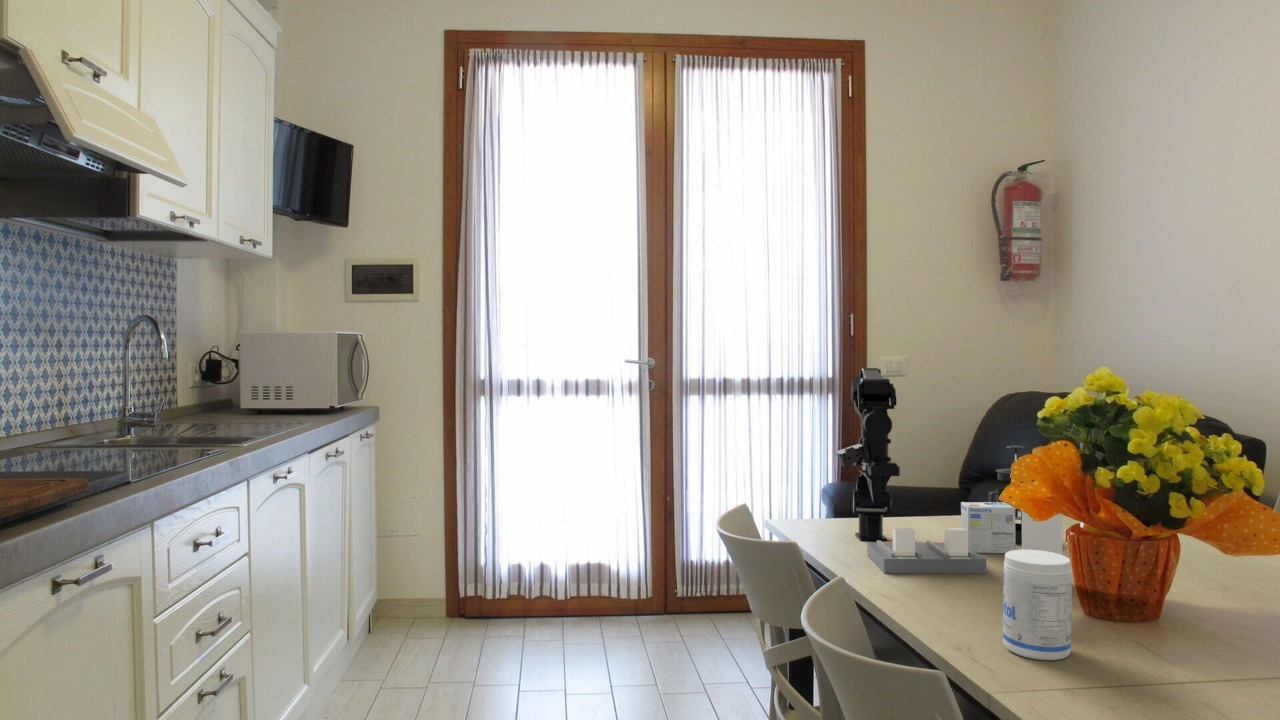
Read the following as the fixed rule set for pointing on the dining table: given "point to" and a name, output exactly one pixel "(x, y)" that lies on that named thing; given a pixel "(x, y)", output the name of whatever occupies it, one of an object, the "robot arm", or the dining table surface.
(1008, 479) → the french press
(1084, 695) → the dining table surface
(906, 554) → the white block
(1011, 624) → the supplement tub
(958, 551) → the tall cream cuboid
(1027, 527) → the off-white cardboard box
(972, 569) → the breaker panel
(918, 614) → the dining table surface
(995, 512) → the light bulb box
